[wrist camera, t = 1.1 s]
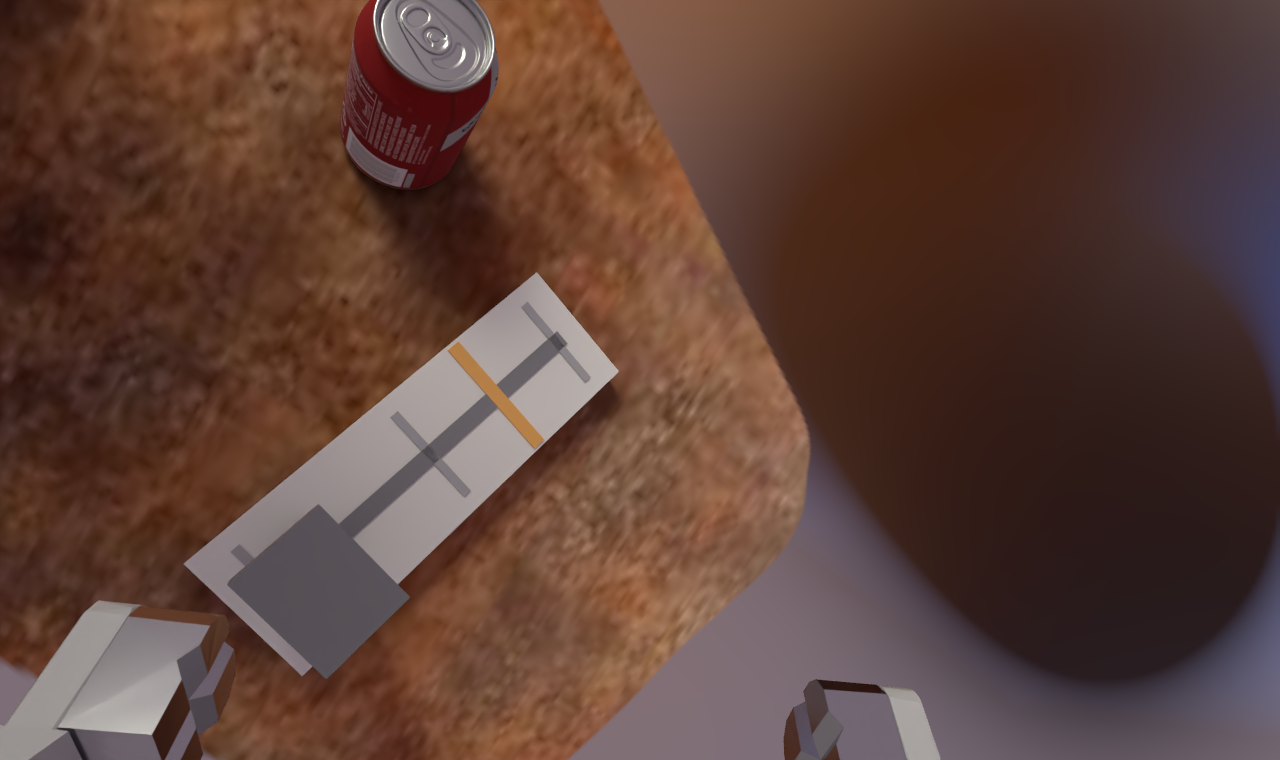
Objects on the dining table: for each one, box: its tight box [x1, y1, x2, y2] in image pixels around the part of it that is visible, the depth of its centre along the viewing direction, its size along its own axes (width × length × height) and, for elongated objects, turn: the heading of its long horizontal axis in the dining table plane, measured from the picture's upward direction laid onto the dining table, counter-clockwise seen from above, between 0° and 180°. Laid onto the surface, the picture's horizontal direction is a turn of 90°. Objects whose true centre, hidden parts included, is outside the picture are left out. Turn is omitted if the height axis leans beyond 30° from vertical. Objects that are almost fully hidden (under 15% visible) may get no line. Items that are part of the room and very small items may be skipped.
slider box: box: [184, 272, 619, 676], centre depth 42 cm, size 24×8×2 cm, turn 135°
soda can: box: [340, 0, 499, 190], centre depth 39 cm, size 7×7×12 cm
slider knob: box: [227, 504, 410, 679], centre depth 32 cm, size 4×5×11 cm
